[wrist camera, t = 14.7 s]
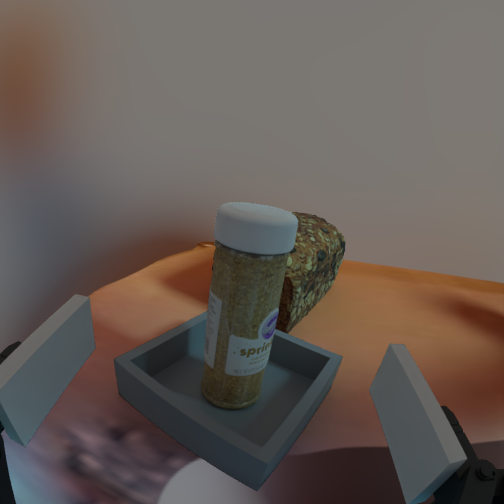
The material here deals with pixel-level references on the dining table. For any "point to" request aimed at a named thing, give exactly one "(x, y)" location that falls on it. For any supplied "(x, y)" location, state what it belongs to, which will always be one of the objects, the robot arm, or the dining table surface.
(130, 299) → the dining table surface
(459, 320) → the dining table surface
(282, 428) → the tray
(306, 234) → the bread
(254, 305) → the sprinkles bottle
